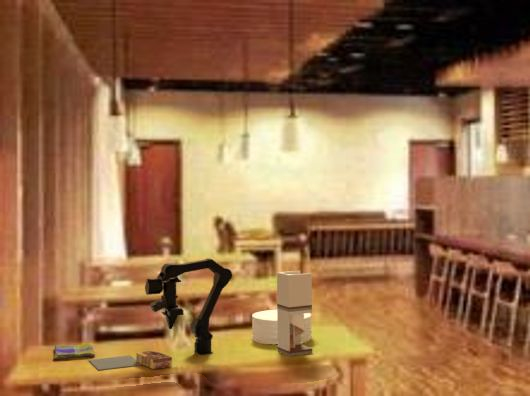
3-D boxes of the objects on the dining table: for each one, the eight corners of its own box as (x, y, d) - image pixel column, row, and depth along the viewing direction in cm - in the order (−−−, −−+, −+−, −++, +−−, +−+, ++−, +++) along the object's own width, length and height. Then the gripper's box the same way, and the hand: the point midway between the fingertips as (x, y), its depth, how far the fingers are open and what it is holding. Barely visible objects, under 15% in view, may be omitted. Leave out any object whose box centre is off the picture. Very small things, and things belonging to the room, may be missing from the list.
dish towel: (93, 347, 364) (93, 341, 364) (95, 359, 341) (94, 353, 340) (54, 349, 360) (54, 343, 360) (53, 362, 336) (52, 355, 336)
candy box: (135, 362, 332) (152, 369, 319) (135, 352, 332) (152, 358, 319) (154, 360, 337) (172, 367, 324) (155, 350, 337) (172, 356, 324)
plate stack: (312, 345, 361) (312, 320, 361) (251, 345, 362) (251, 320, 361) (310, 332, 389) (310, 309, 389) (253, 332, 390) (253, 309, 389)
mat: (130, 356, 344) (130, 355, 344) (141, 365, 327) (141, 364, 327) (88, 360, 336) (88, 360, 336) (98, 370, 320) (98, 369, 320)
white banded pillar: (289, 356, 340) (288, 275, 338) (277, 351, 349) (276, 272, 348) (312, 353, 345) (311, 273, 344) (300, 348, 354) (299, 270, 353)
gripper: (145, 291, 346) (146, 326, 346) (158, 297, 329) (158, 334, 330) (169, 289, 351) (170, 324, 351) (183, 295, 334) (184, 332, 334)
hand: (170, 329), depth 341 cm, fingers closed
